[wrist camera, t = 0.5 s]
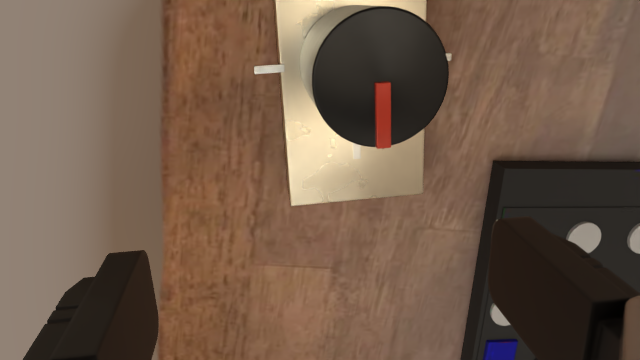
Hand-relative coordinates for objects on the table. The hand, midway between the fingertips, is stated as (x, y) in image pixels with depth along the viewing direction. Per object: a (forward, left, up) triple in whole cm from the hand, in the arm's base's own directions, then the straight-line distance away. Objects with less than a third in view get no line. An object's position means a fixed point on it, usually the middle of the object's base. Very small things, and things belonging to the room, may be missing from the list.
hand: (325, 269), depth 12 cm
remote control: (+19, +16, -17) cm, 30 cm away
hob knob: (-3, +3, -14) cm, 15 cm away
